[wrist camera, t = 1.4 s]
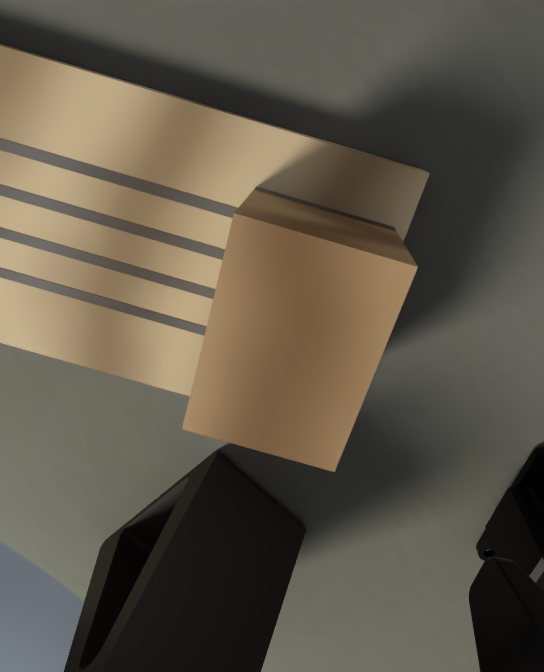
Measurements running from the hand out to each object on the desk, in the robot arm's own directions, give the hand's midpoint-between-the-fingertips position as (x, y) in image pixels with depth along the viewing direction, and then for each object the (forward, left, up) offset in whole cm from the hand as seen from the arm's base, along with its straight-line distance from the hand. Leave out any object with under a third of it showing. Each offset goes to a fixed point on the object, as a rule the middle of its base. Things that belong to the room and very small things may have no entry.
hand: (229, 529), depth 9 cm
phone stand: (0, +14, -13) cm, 19 cm away
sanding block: (-1, 0, -12) cm, 12 cm away
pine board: (+5, 0, -13) cm, 14 cm away
